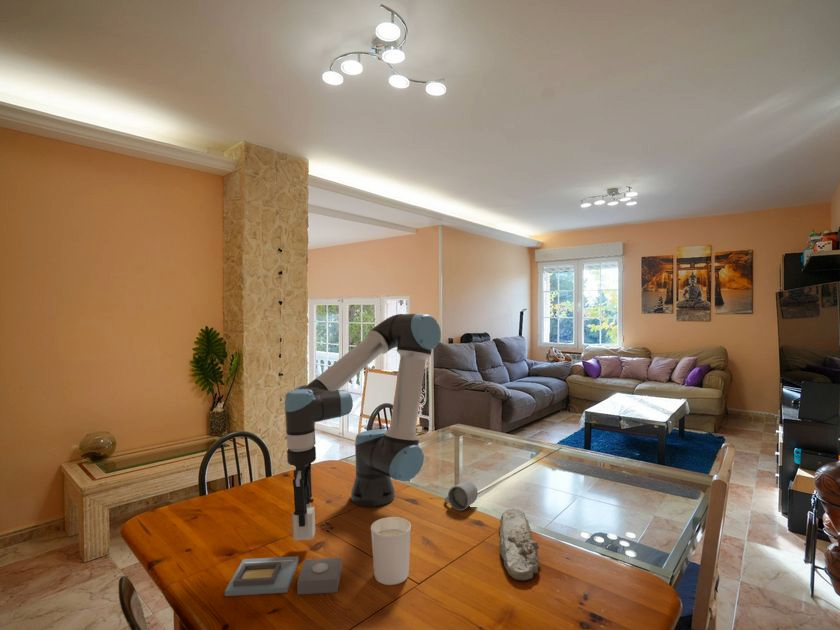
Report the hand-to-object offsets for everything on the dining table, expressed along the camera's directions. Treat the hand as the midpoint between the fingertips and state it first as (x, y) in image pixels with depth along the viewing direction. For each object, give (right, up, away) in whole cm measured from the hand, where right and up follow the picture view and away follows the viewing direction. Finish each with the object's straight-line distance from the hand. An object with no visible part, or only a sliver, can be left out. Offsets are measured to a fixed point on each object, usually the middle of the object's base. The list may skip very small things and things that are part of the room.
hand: (305, 531), depth 120 cm
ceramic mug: (+45, -4, +26) cm, 52 cm away
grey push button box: (+8, -5, -15) cm, 17 cm away
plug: (0, -1, 0) cm, 1 cm away
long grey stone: (+58, -4, 0) cm, 58 cm away
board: (-7, -5, -13) cm, 15 cm away
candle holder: (+25, -5, -13) cm, 28 cm away
